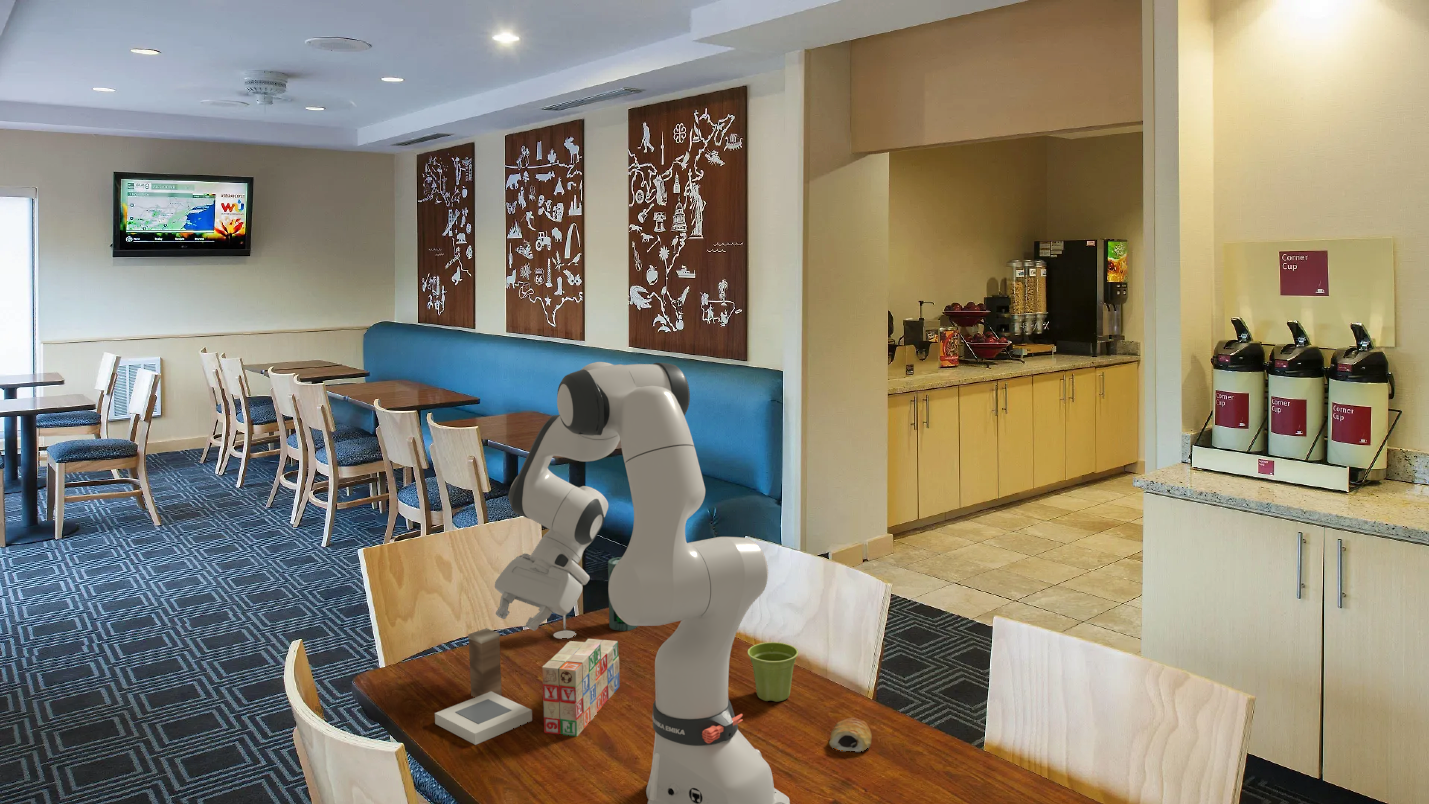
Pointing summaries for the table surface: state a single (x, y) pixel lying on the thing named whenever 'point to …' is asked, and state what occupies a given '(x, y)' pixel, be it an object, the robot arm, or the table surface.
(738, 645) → the table surface
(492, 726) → the plate
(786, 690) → the plant pot
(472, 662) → the brown tall block
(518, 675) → the table surface
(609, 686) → the stack of blocks
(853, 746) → the pastry
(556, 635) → the wineglass
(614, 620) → the can
